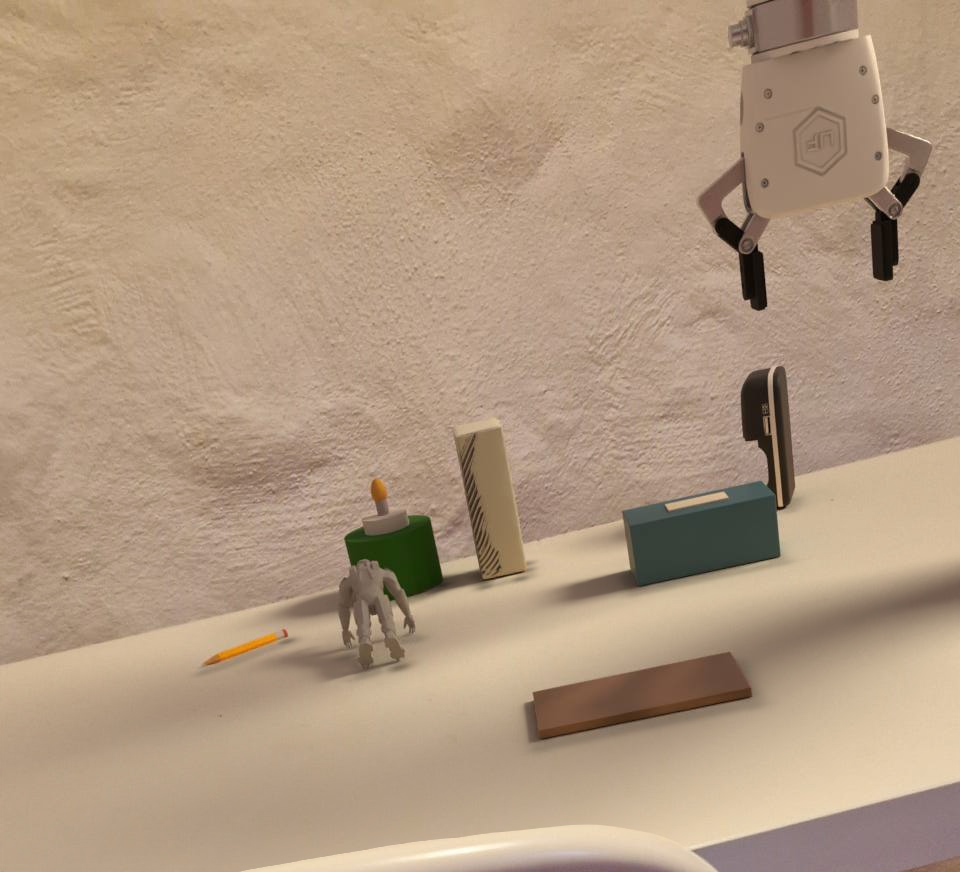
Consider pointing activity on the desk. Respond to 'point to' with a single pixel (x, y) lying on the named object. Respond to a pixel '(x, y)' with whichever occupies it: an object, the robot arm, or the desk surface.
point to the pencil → (247, 646)
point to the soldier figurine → (372, 608)
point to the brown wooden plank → (639, 694)
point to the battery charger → (770, 427)
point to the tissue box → (702, 533)
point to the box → (490, 497)
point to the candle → (397, 544)
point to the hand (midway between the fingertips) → (820, 294)
